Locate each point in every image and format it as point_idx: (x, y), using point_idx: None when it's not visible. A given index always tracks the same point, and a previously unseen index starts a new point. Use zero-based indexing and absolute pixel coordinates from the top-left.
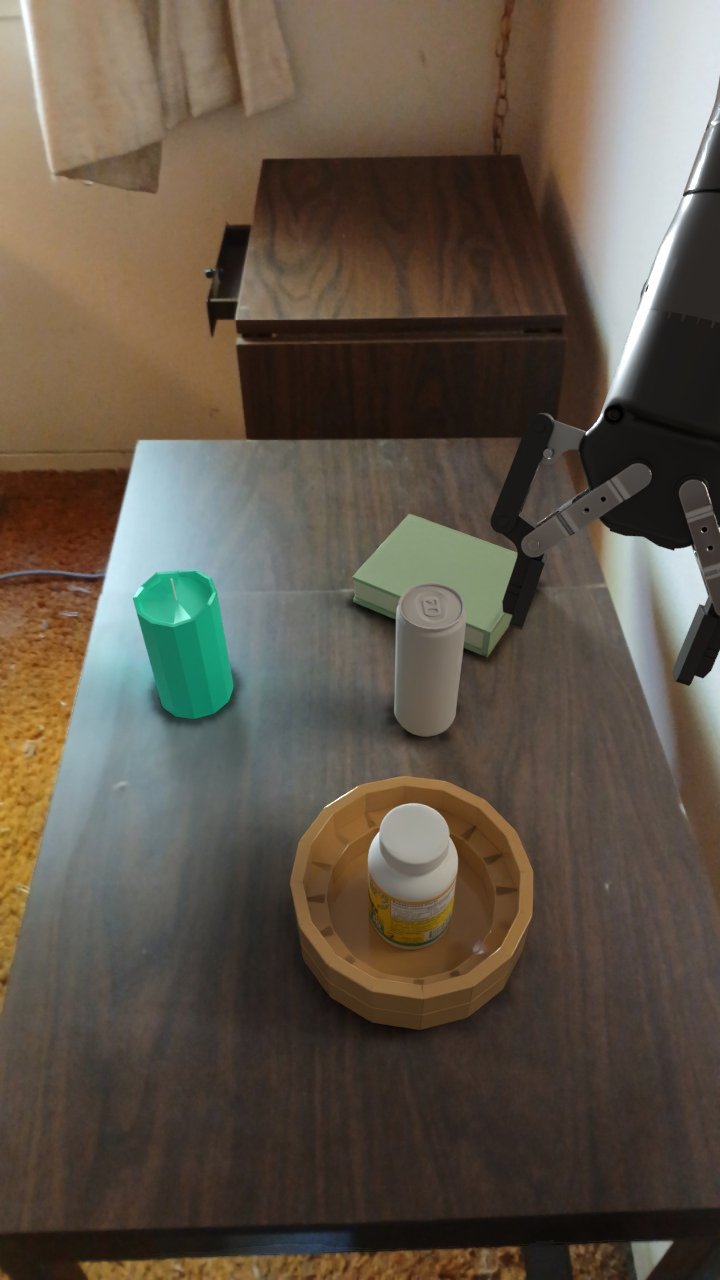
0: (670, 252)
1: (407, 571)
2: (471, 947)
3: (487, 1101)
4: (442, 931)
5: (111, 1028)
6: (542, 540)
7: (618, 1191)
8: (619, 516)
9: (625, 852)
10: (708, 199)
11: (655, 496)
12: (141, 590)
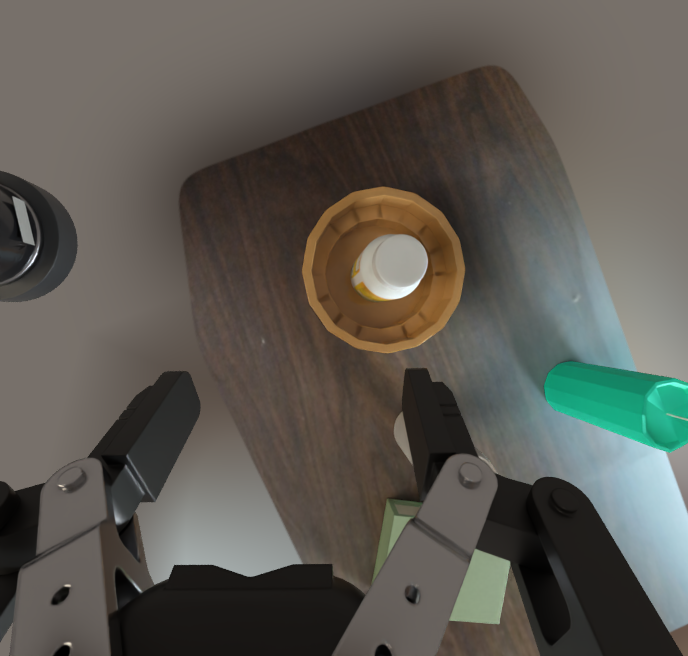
0: None
1: (477, 554)
2: (333, 268)
3: (300, 187)
4: (353, 264)
5: (504, 157)
6: (460, 489)
7: (222, 166)
8: (319, 616)
9: (256, 370)
10: None
11: None
12: None
